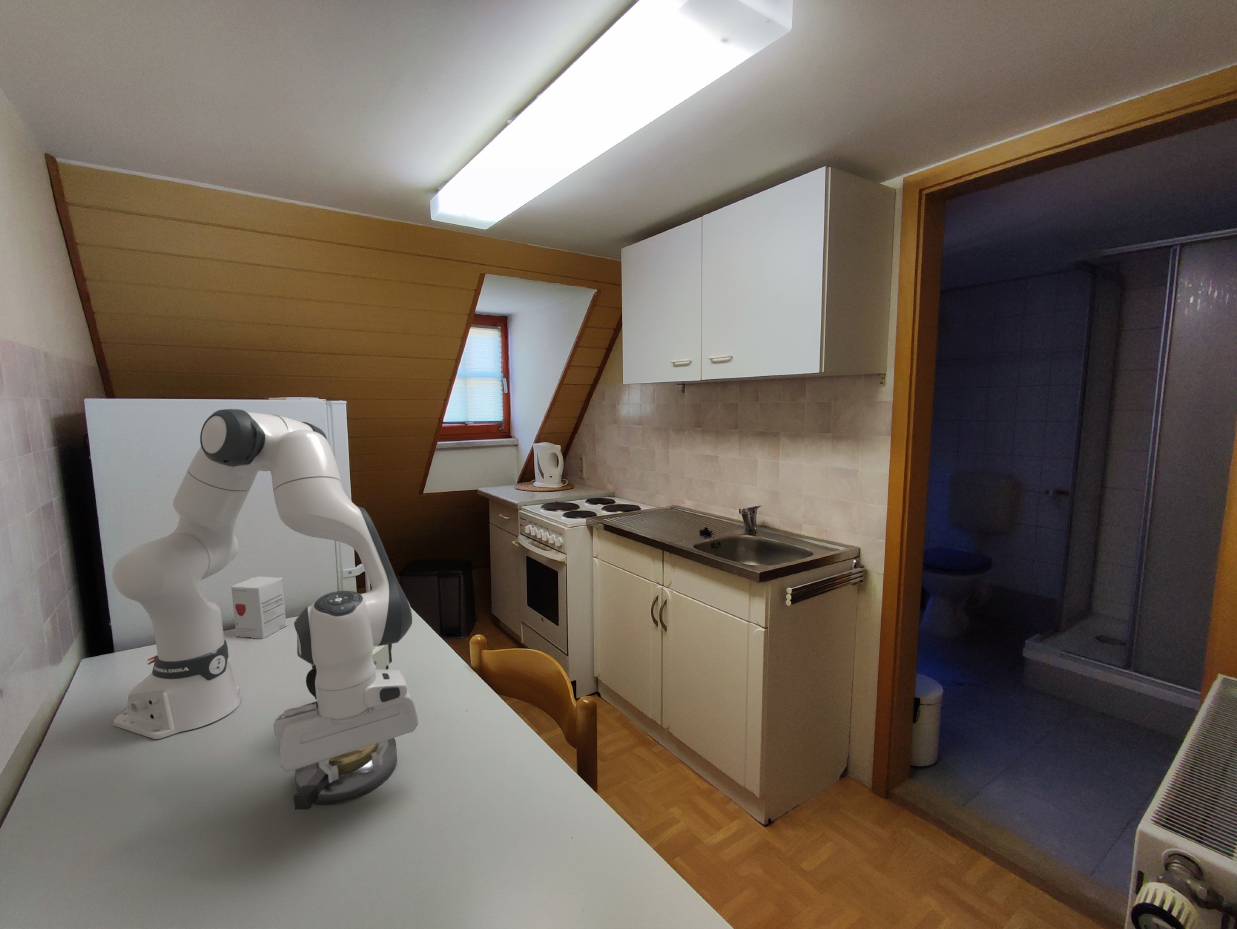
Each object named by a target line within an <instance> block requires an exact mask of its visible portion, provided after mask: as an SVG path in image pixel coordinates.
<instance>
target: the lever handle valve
mask: <svg viewBox="0 0 1237 929" xmlns="http://www.w3.org/2000/svg"><path fill="white" fill-rule="evenodd" d="M377 749H378V743H376V744H373V745H370V746H367V747H364V748H361V749H358V750H354V751H351V752H348V753H345V754H342V755H339V756H336V757H333V758H330V759H329V764H330V765H331V766H335V765H337V766H338V773H344V772H348V771H351V770H354V769H356V768H358V767H360V766H362V765H364V764H365V763H367V762H368V761H370V760H371V759H372V756H371V754H372V753H374V752H376V751H377ZM315 766H316V768H317V769H318V771H317V772H316V773H315V774H314V776H313V777H312V778H311V779H310V780H309V782H308V783H307V784H306V785H303V786H302V787H301V788H300V790H299V791H298V792H297V791H296V793H295V794H294V795H293V802H294V810H296V811H300V810H301V811H302V810H303V811H307V810H310V809H311V808H312V807H313V806H314V805H315V804H314V803H315V802H316V800H317V799H318V795H319V794H320V792H321V791H322V790H323V788H324V787H325V786H326V785H327V783H328V782H329V778H328V774H326V773H325V772H324V771H323V770H322V769H321V768H320V767H319V762H317V763H315Z"/></svg>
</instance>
